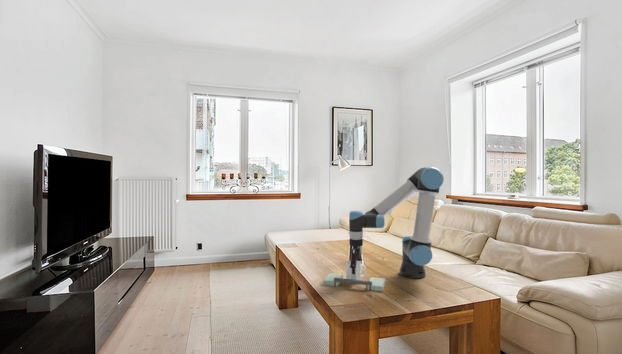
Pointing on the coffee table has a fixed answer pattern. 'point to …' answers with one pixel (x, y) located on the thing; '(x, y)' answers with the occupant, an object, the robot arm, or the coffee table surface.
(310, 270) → the coffee table surface
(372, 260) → the coffee table surface
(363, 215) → the robot arm
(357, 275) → the mug
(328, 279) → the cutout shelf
